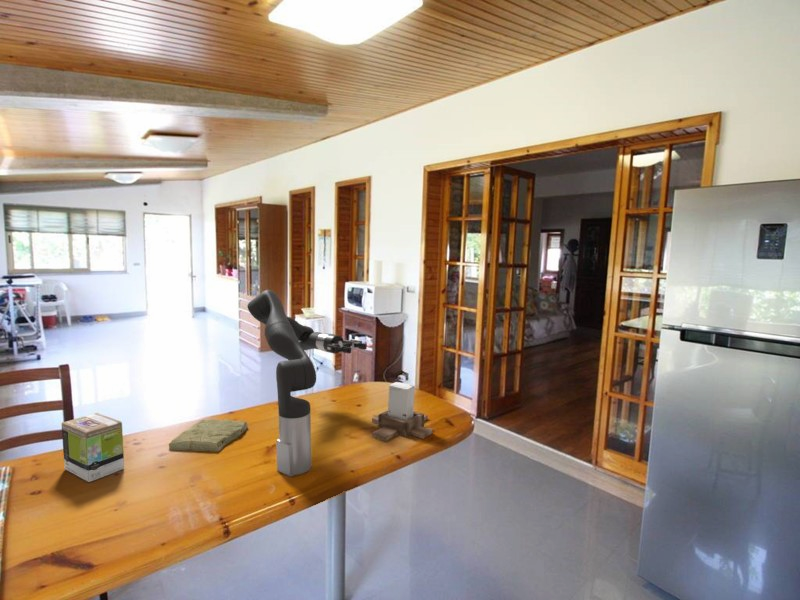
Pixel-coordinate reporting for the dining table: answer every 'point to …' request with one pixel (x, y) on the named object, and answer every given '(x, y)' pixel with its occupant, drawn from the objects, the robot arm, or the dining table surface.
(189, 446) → the decorative tile
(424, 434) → the cross stand
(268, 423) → the dining table surface
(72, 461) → the tea box
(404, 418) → the skincare box
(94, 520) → the dining table surface
